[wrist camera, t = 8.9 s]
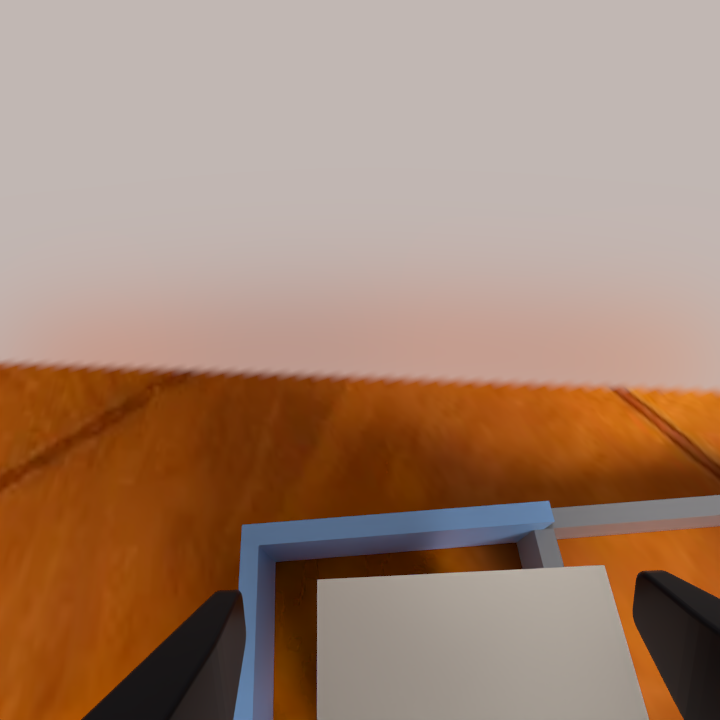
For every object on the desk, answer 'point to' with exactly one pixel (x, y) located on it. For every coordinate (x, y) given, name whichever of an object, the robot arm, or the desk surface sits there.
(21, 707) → the desk surface
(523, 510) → the organizer
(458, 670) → the white rectangular block
